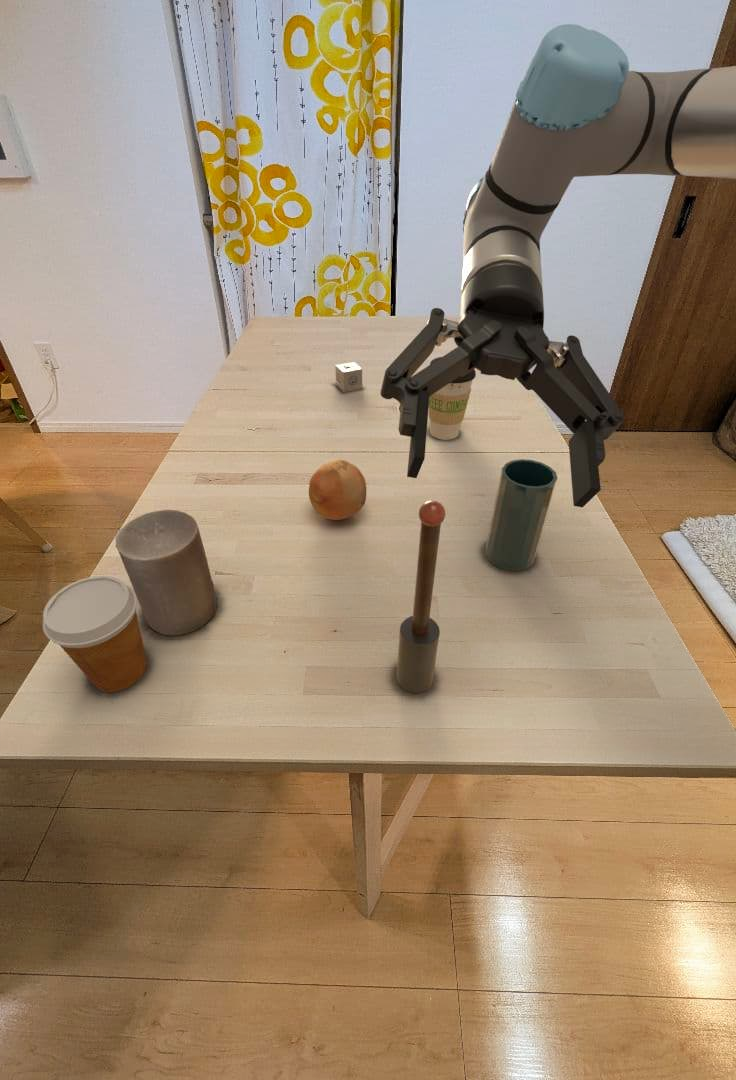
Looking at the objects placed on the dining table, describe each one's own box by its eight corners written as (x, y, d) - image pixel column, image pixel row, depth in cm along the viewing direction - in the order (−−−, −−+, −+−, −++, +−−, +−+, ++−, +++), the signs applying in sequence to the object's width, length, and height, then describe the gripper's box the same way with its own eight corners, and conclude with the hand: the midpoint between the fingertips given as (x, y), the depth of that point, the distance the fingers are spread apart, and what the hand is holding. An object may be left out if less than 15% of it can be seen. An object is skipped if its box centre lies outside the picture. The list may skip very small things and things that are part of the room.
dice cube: (336, 384, 131) (335, 365, 128) (354, 381, 132) (353, 362, 129) (343, 392, 127) (343, 372, 124) (362, 388, 129) (362, 369, 126)
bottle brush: (440, 681, 63) (468, 505, 46) (413, 700, 61) (432, 524, 44) (416, 657, 65) (434, 483, 49) (389, 675, 63) (398, 500, 47)
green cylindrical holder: (543, 558, 80) (568, 475, 71) (512, 578, 77) (533, 494, 67) (506, 534, 85) (525, 453, 75) (475, 552, 81) (490, 470, 72)
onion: (320, 494, 93) (317, 444, 87) (373, 502, 91) (374, 452, 85) (301, 525, 86) (296, 474, 80) (358, 535, 84) (358, 484, 78)
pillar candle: (220, 582, 76) (200, 497, 66) (215, 633, 68) (191, 546, 59) (151, 588, 75) (120, 503, 65) (138, 641, 67) (101, 554, 58)
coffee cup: (422, 443, 108) (428, 373, 98) (420, 421, 115) (425, 354, 106) (469, 444, 108) (480, 374, 98) (464, 422, 115) (473, 355, 106)
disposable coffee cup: (125, 629, 69) (96, 562, 61) (176, 659, 65) (152, 592, 57) (60, 681, 62) (18, 614, 55) (113, 718, 59) (75, 651, 51)
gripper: (604, 351, 53) (627, 531, 44) (366, 304, 52) (337, 481, 42) (649, 288, 47) (688, 484, 37) (378, 232, 45) (346, 422, 35)
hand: (502, 483), depth 40 cm, fingers open, 13 cm apart
